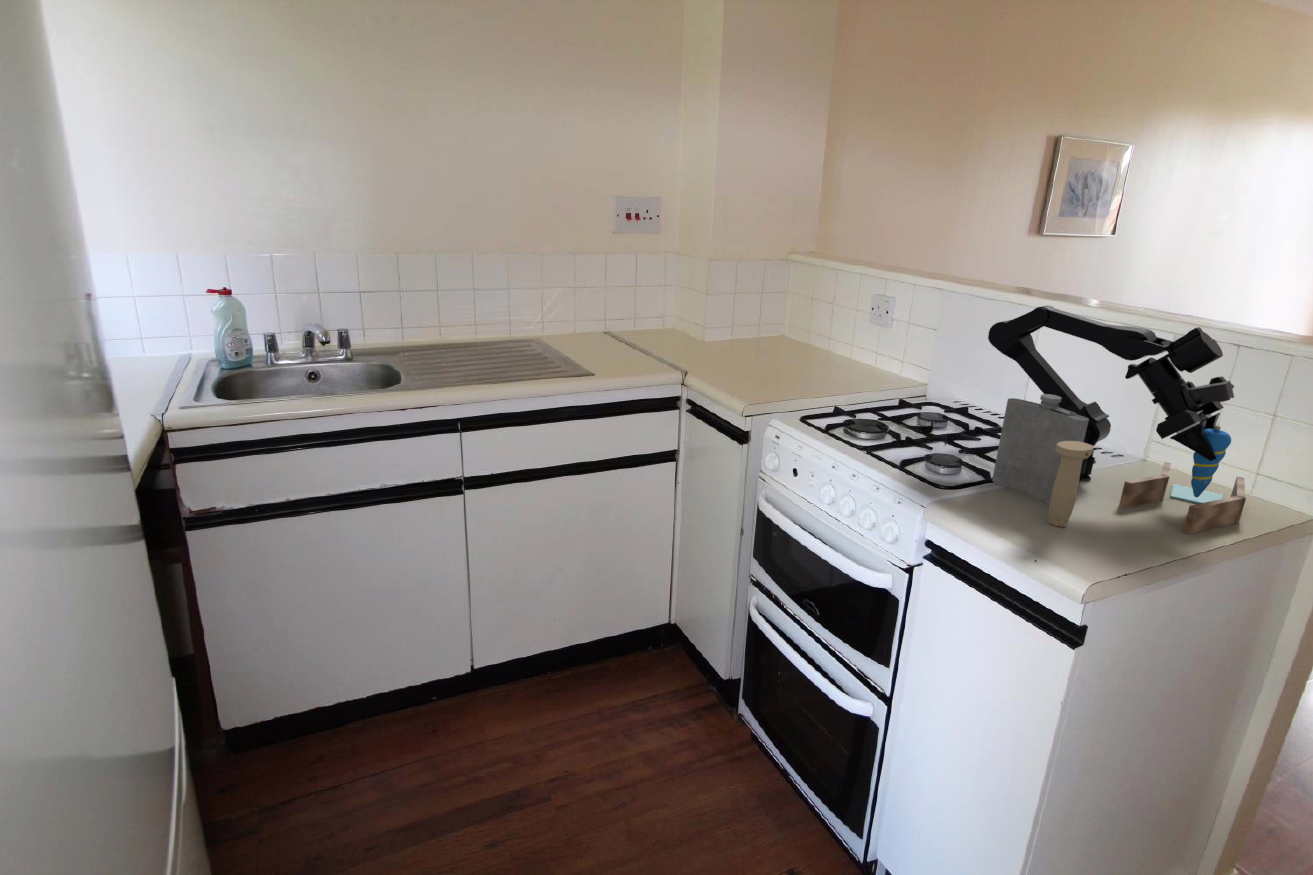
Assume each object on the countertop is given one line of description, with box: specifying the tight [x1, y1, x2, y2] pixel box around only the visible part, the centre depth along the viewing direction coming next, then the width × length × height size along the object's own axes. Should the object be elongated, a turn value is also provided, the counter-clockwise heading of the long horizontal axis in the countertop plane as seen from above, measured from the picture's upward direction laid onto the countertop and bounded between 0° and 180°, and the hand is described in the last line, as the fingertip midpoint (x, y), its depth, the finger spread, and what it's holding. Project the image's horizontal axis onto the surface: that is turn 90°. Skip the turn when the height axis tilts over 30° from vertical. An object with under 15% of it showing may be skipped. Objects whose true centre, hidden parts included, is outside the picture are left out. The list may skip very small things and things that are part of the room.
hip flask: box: [991, 393, 1089, 505], centre depth 148 cm, size 16×4×20 cm, turn 32°
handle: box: [1048, 441, 1095, 528], centre depth 134 cm, size 5×6×15 cm
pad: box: [1169, 483, 1223, 504], centre depth 152 cm, size 8×8×1 cm
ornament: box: [1190, 424, 1232, 497], centre depth 142 cm, size 5×5×15 cm
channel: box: [1118, 461, 1247, 535], centre depth 145 cm, size 25×26×5 cm
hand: (1218, 456), depth 141 cm, fingers closed on ornament, 5 cm apart
